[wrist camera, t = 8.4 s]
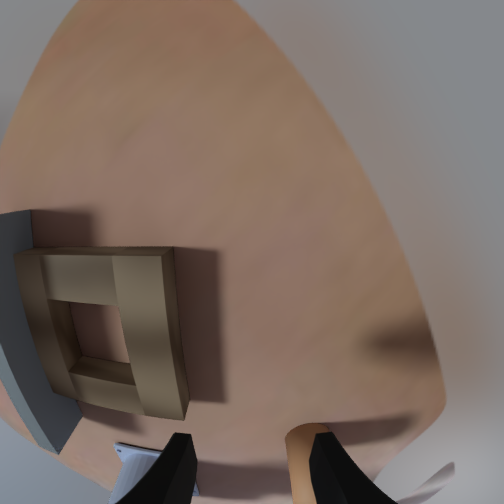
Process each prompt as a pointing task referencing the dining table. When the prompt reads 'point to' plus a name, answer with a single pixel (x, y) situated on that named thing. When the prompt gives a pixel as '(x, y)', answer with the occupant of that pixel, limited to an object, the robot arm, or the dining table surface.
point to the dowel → (302, 460)
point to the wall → (27, 349)
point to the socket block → (132, 318)
